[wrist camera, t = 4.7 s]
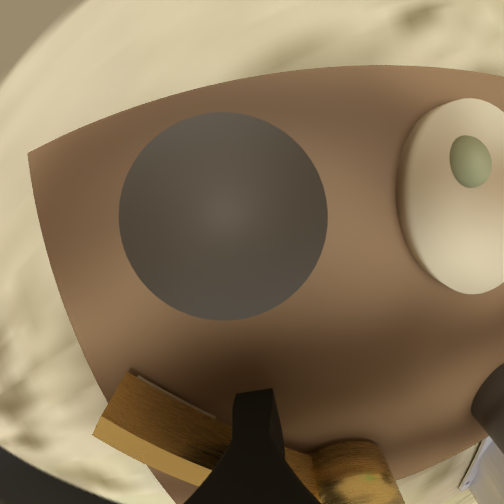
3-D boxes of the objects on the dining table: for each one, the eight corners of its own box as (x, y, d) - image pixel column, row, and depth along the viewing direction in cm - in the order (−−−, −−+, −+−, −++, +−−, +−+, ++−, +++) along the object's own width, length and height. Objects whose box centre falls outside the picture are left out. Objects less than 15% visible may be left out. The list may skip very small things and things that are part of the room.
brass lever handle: (400, 451, 11) (424, 499, 8) (338, 499, 11) (349, 545, 8) (145, 338, 9) (108, 400, 6) (105, 412, 10) (75, 468, 7)
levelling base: (487, 417, 13) (524, 463, 8) (187, 495, 14) (177, 560, 9) (500, 86, 9) (576, 68, 4) (50, 154, 9) (-46, 151, 5)
